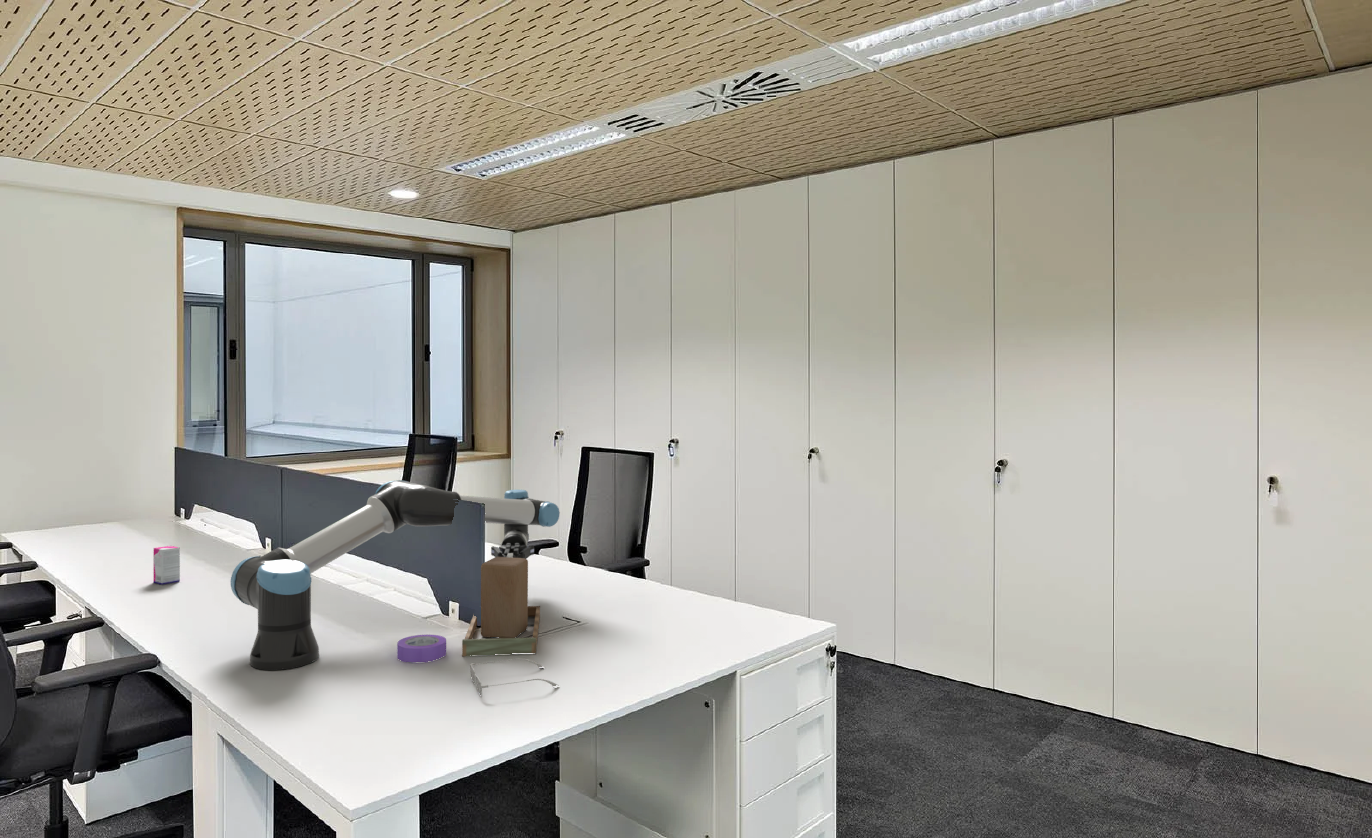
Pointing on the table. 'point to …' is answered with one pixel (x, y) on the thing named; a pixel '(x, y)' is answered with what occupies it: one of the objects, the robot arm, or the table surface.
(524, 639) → the wooden tray
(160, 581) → the supplement box
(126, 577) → the table surface
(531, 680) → the eyeglasses
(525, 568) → the block
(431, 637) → the masking tape
